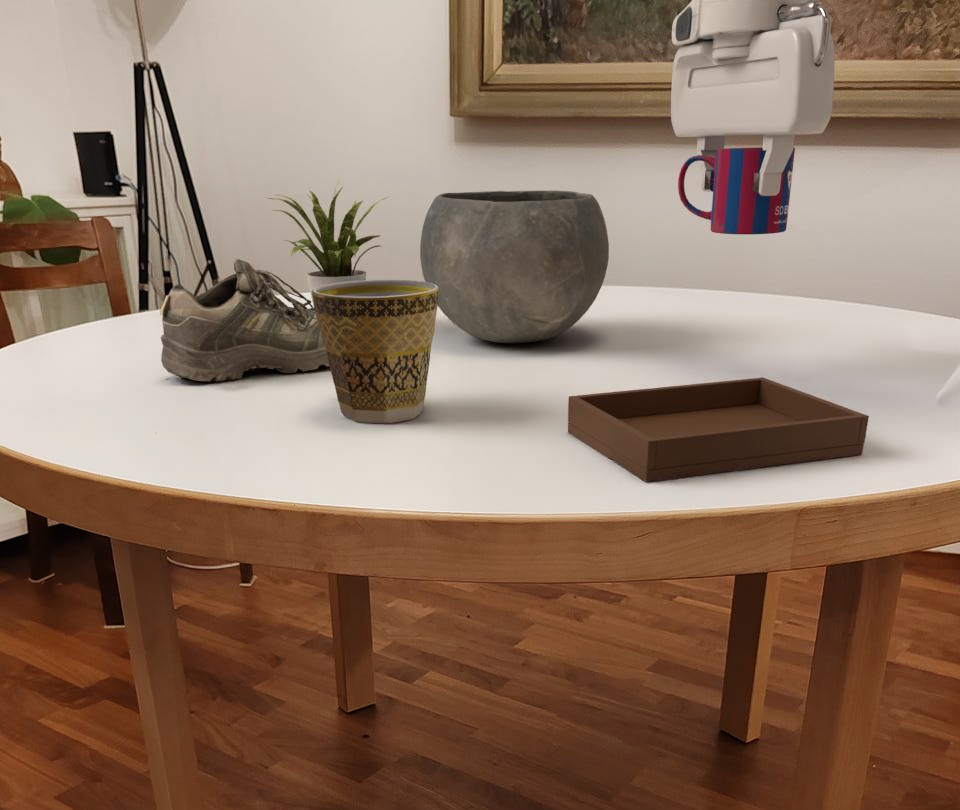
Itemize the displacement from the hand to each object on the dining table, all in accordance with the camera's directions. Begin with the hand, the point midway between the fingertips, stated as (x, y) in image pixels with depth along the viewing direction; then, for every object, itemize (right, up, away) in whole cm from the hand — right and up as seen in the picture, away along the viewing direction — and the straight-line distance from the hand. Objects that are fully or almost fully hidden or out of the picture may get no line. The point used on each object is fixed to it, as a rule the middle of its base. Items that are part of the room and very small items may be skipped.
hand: (738, 193), depth 88 cm
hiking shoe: (-44, -13, +10) cm, 47 cm away
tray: (-6, -25, -15) cm, 30 cm away
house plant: (-42, -2, +31) cm, 52 cm away
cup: (0, -3, +2) cm, 3 cm away
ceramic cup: (-32, -21, -5) cm, 39 cm away
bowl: (-19, -7, +22) cm, 30 cm away
